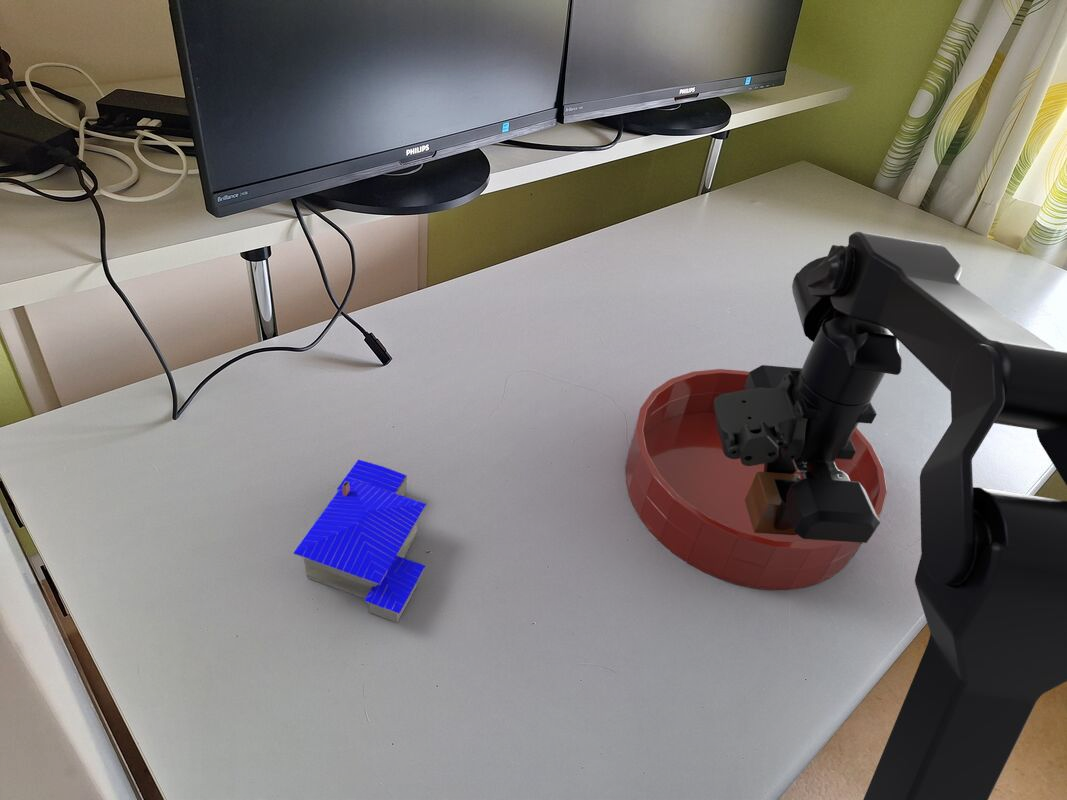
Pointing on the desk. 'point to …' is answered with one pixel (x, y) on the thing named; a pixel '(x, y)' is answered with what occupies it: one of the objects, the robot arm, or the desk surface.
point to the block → (766, 502)
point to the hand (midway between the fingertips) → (773, 510)
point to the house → (367, 540)
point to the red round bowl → (724, 491)
